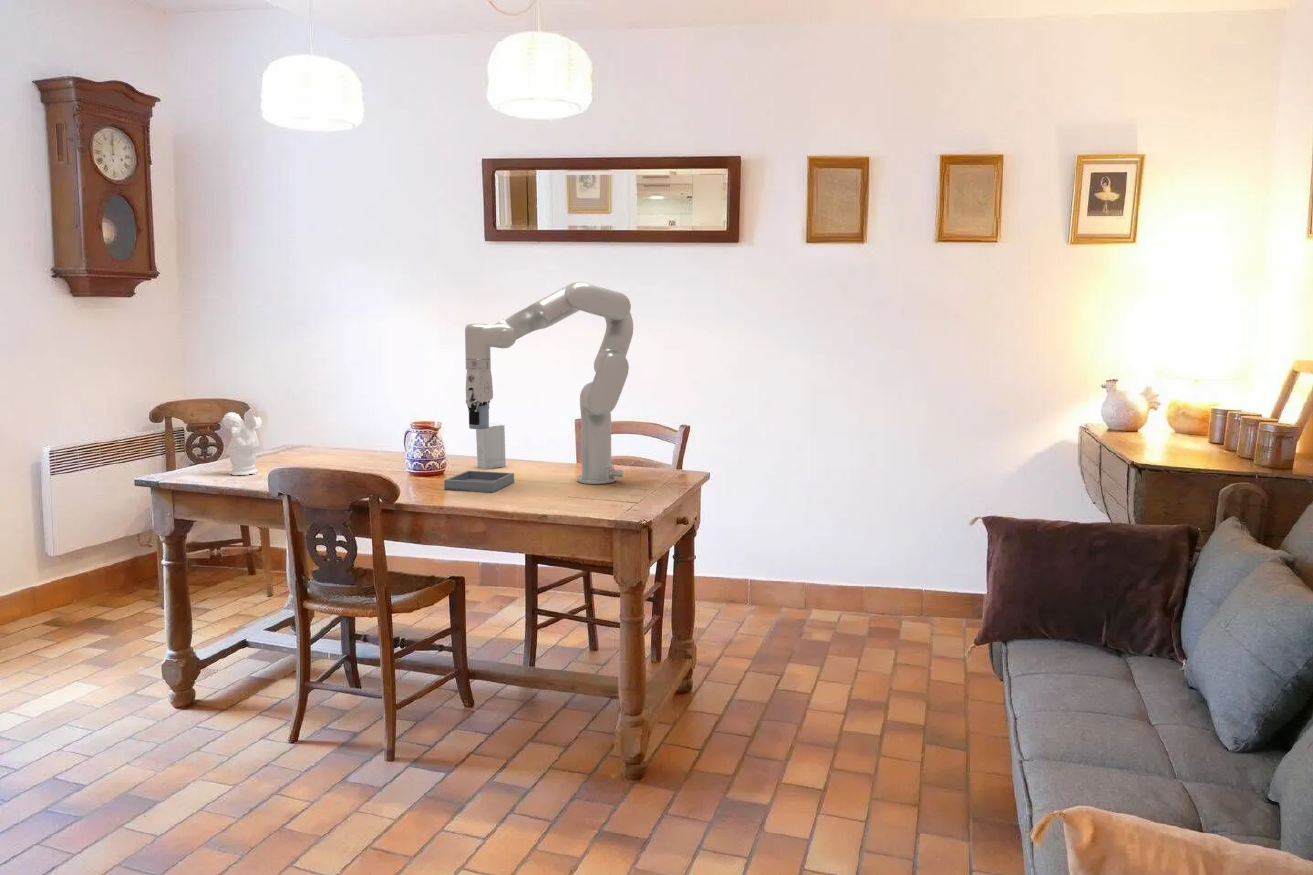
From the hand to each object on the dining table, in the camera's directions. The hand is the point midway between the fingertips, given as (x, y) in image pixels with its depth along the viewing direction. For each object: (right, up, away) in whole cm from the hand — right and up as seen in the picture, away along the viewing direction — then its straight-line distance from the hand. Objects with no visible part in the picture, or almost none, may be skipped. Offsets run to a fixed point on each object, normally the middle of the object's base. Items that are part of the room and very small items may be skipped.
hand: (479, 422), depth 298 cm
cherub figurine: (-80, -16, +22) cm, 85 cm away
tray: (0, -20, +3) cm, 20 cm away
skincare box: (-2, -15, +34) cm, 37 cm away
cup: (0, -2, 0) cm, 2 cm away
